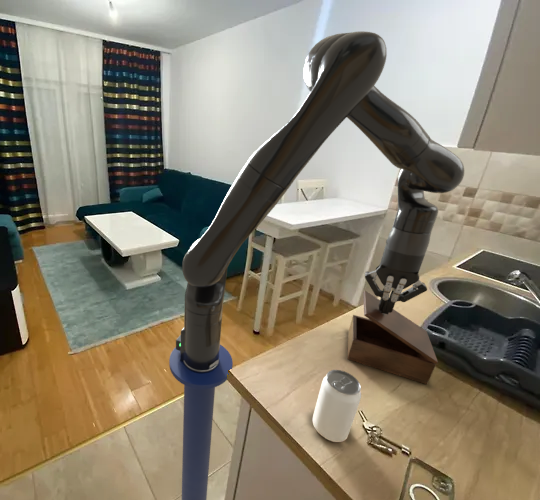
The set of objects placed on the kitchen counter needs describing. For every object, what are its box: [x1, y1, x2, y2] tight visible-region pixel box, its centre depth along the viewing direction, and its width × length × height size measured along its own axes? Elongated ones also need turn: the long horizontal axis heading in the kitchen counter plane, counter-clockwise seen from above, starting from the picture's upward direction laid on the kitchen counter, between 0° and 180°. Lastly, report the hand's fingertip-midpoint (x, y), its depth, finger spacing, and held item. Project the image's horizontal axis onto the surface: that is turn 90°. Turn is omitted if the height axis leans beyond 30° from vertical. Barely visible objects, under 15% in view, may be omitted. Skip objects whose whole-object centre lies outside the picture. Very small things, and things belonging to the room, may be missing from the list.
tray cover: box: [362, 290, 439, 365], centre depth 72 cm, size 17×13×1 cm
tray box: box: [347, 314, 437, 385], centre depth 75 cm, size 17×13×6 cm
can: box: [312, 369, 362, 443], centre depth 54 cm, size 6×6×12 cm
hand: (384, 312), depth 72 cm, fingers closed
